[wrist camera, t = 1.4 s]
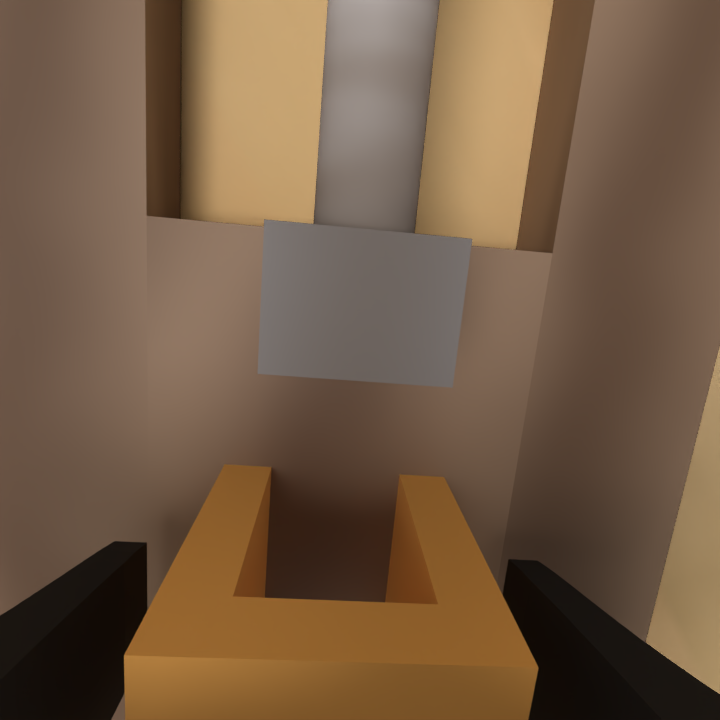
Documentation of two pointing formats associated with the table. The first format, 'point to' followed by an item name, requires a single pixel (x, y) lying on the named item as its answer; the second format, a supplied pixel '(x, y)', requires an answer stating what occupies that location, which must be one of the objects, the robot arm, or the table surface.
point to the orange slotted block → (328, 625)
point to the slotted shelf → (340, 444)
